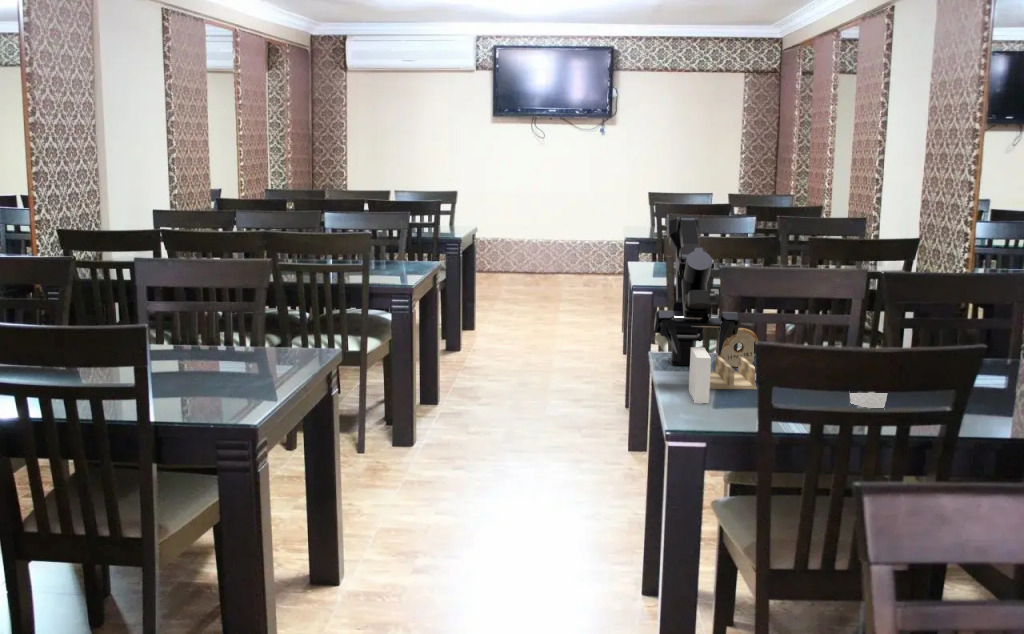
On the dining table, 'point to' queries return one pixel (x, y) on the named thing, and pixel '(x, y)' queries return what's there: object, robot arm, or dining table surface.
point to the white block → (699, 375)
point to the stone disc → (746, 351)
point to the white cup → (869, 399)
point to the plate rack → (732, 375)
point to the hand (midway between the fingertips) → (698, 353)
